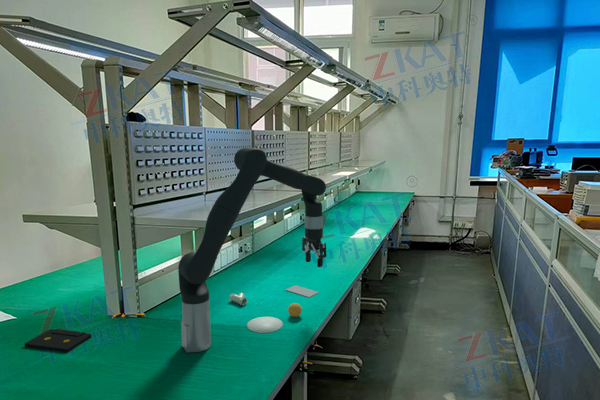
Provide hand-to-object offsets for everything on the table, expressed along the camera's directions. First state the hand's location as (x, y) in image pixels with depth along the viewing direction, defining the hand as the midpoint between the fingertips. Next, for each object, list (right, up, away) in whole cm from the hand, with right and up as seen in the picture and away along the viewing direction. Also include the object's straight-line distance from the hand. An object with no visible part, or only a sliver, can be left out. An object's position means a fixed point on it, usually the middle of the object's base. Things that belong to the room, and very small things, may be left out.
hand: (314, 264), depth 171 cm
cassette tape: (-93, -25, -23) cm, 99 cm away
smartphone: (-5, -18, +26) cm, 32 cm away
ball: (-8, -18, -2) cm, 20 cm away
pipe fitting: (-33, -20, +13) cm, 40 cm away
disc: (-20, -22, -10) cm, 31 cm away
